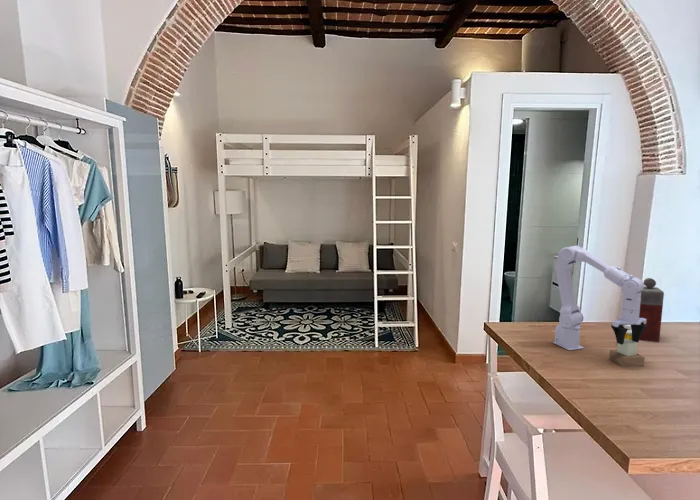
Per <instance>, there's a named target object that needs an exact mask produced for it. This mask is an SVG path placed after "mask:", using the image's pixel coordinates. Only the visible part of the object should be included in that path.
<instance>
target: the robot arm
mask: <svg viewBox="0 0 700 500" xmlns="http://www.w3.org/2000/svg"><path fill="white" fill-rule="evenodd" d="M576 262H581V263H583V262H584V263H586V264H588V265H590V266H592V267H593V268H595V269H597V270H598V271H600V272H602V273H603V275H604V278H605V279H607V280H608V281H610V282H612V283H613V284H615V285H616V286H618V287H619V288H621V290H622V292H623V293H622V301H621V302H622V303H621V311H620V312H621V314H620V318H618V319H615V320H612V323H611V329H612V330H613V333H614V335H615V339H616V344H618V343H619V344H621V345H622V344H623V343H624V338H625V334H626V332H627V330H628V329H626V328H624V327H623V326H625V325H631V329H632V341H634V342H637V343H639V341H641V340H640V337H641V335H642V333H643V332H644V331H645V329H646V328H647V325H644V324H646V319H644V318H639V312H640V302H641V292H640V291H642V290H643V288H644V286H645V285H644V280H642V279H640V277H638V276H637V277H636V276H634V275H633V274H628V273H627V272H626V271H624V270H622V267H620V266H615V265H609V264H607V263H606V262H604V261H603V260H601V259H600V258H599V257H597V256H595V254H593V253H591V252H590V251H588V249H587V248H584V247H582V246H580V245H577V244H574V245H572V246H565V247H563V248H561V249H560V250H559V251H558V252H557V258H556V260H555V264H554V268H555V273H556V279H557V285H558V290H559V291H558V292H559V297H560V302H561V307H560V310H559V318H558V321H559V324H557V325H556V326H555V329H554V330H555V332H554V341H553V342H552V343H553V344H556V346H559V347H561V348H563V349H566V350H568V351H574V350H583V349H585V347H584V346H582V345H580V337H581V324H582V323H583V322H584V320H585V319H584V315H583V313H582V312H581V309H580V306H578V305H577V302H576V298H575V297H576V296H575V293H574V287H573V283H572V276H571V270H570V269H571V267H572V266H573V265H574V264H575V263H576ZM638 292H639V293H638Z"/></svg>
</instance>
